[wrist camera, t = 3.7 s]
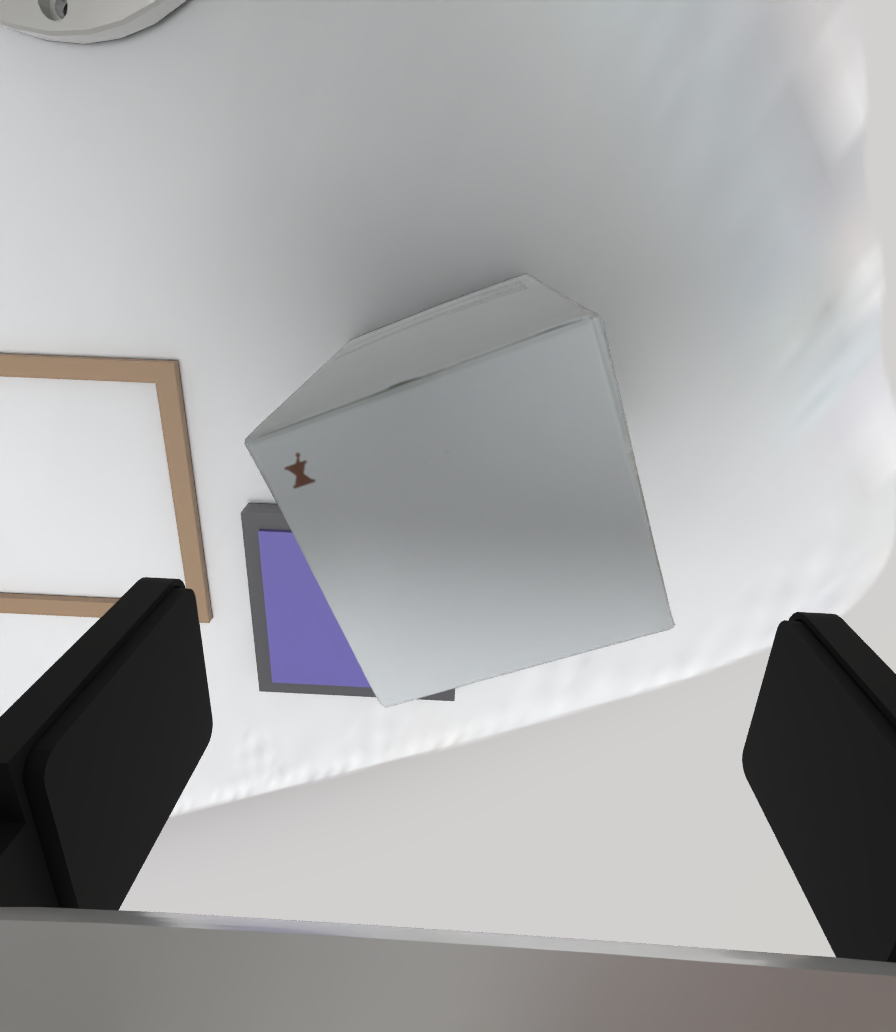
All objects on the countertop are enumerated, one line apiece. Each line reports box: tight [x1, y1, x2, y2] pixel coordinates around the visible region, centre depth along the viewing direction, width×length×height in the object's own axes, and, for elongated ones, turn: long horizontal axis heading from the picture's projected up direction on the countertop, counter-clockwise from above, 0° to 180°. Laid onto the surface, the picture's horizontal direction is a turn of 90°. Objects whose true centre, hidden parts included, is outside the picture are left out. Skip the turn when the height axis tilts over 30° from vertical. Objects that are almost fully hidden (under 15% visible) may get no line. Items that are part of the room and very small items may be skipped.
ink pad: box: [241, 503, 455, 701], centre depth 28 cm, size 9×9×1 cm
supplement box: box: [245, 274, 675, 707], centre depth 19 cm, size 7×7×13 cm
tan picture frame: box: [0, 353, 212, 623], centre depth 27 cm, size 12×12×1 cm
